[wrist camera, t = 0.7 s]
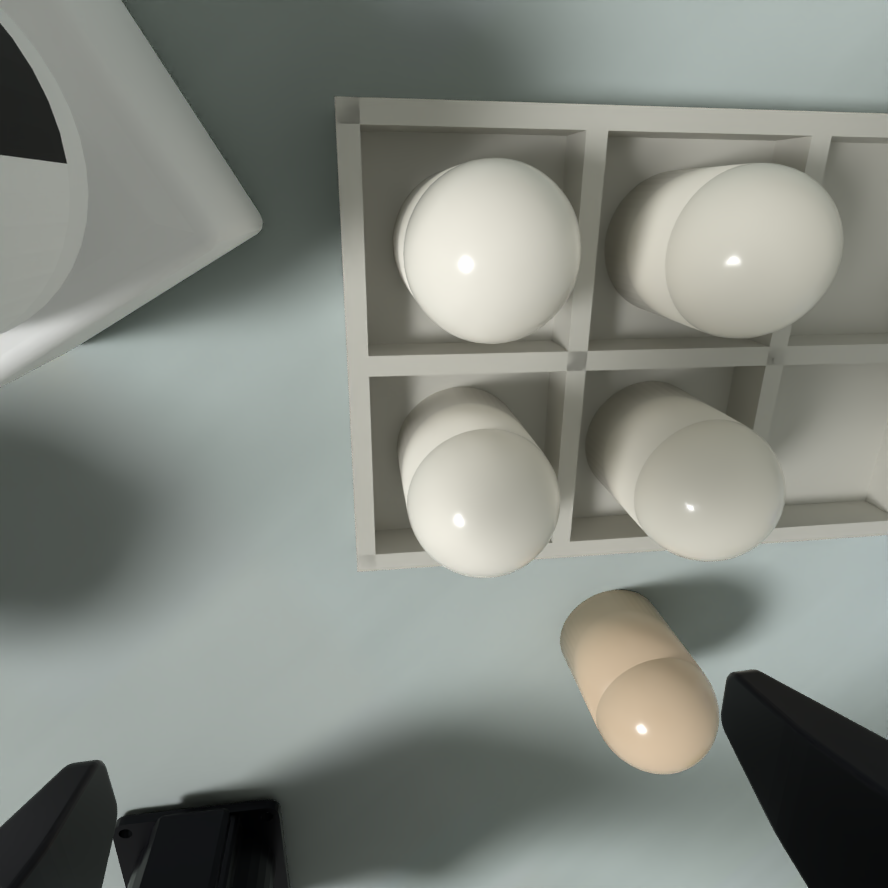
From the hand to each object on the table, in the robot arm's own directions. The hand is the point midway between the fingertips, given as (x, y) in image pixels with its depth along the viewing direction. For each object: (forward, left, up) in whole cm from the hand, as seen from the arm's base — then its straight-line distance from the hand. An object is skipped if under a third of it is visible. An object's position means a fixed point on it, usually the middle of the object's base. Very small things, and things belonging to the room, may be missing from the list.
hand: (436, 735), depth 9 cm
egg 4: (0, -9, -12) cm, 15 cm away
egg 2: (0, -2, -12) cm, 13 cm away
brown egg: (-9, -9, -13) cm, 18 cm away
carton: (+3, -9, -13) cm, 16 cm away
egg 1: (+6, -2, -12) cm, 14 cm away
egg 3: (+6, -9, -12) cm, 16 cm away
